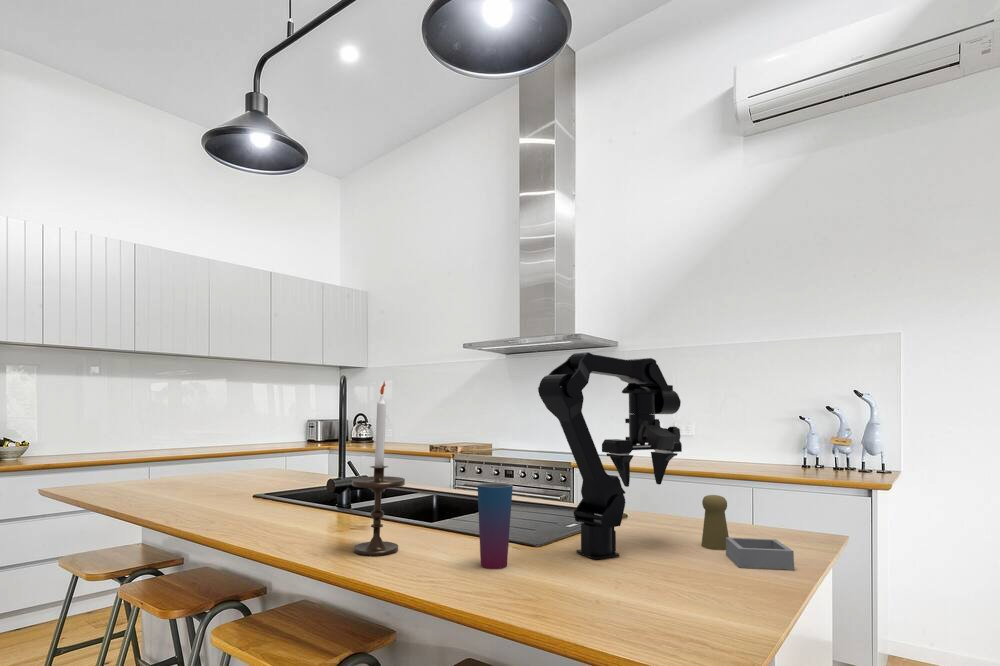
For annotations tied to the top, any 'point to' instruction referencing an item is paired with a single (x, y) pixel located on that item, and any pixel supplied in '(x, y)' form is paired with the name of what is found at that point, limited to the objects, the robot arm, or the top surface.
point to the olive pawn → (714, 523)
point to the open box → (759, 553)
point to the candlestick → (378, 490)
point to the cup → (494, 523)
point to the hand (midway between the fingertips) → (642, 485)
